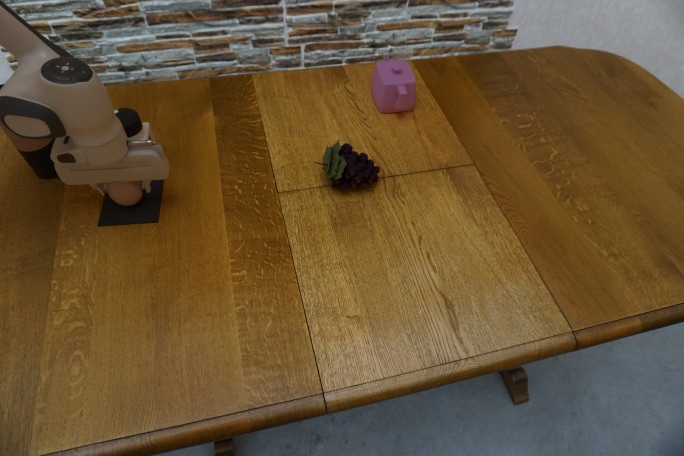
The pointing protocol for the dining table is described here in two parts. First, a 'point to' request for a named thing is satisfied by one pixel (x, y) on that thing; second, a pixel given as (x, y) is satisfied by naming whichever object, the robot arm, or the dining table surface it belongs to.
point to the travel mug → (34, 153)
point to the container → (134, 125)
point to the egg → (125, 192)
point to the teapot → (393, 86)
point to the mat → (133, 208)
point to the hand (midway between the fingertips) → (127, 191)
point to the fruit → (348, 167)
